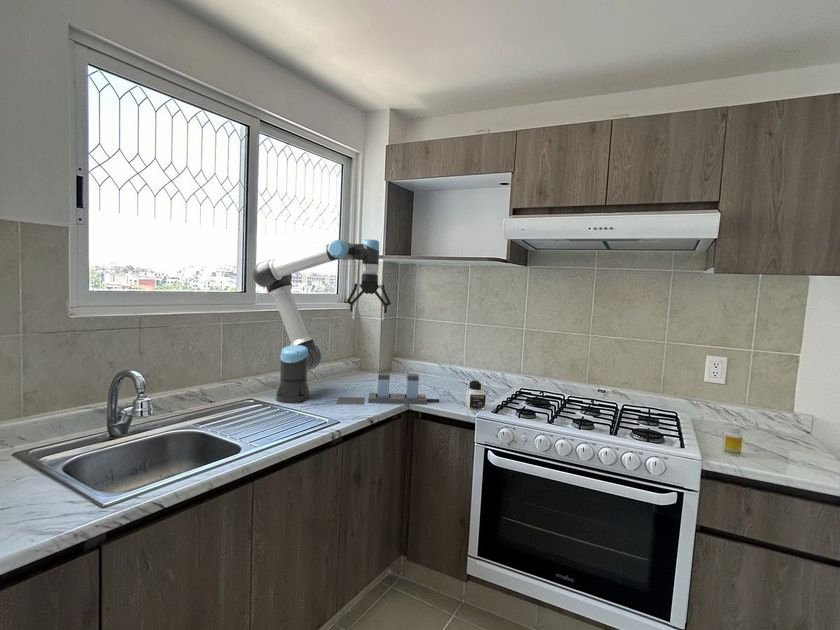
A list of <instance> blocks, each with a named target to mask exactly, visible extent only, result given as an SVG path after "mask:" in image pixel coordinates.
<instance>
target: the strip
mask: <svg viewBox="0 0 840 630" xmlns="http://www.w3.org/2000/svg"><path fill="white" fill-rule="evenodd" d="M367 399H368V401H367V403H368V404H387V405H388V404H389V405H390V404H392V405H393V404H396V405H397V404H398V405H426V406H427V404H428V403H440V399H439V398H427V396H426V394H421V393H420V394H419V393H418V399H409V398H406V393H390V392H389V398H378V392H368V397H367Z"/></svg>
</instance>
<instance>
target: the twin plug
mask: <svg viewBox="0 0 840 630" xmlns="http://www.w3.org/2000/svg"><path fill="white" fill-rule="evenodd" d="M419 379H420V377H419V374H418V373H407V374H406V391H405V394H406V398H409V399H418V394H419Z"/></svg>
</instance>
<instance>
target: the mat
mask: <svg viewBox="0 0 840 630" xmlns="http://www.w3.org/2000/svg"><path fill="white" fill-rule="evenodd" d="M365 398H366V397H355V396H350V397H349V396H338V398H337V400H336V402H335V405H357V406H358V405H359V406H361V405H364V403H365V400H366V399H365Z"/></svg>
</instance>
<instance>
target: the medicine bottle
mask: <svg viewBox="0 0 840 630" xmlns="http://www.w3.org/2000/svg"><path fill="white" fill-rule="evenodd" d="M465 393H466V394H465V406H466V407H467V409H469V410H470V409H482V408H484V407H485V408H486V398H487V397H486V393H485V392H484V382H482V381H481V380H471V381H470V382H469V388H468V390H466V391H465Z"/></svg>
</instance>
